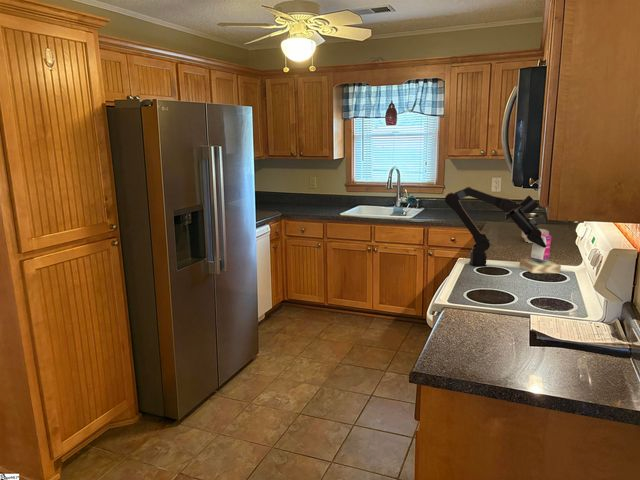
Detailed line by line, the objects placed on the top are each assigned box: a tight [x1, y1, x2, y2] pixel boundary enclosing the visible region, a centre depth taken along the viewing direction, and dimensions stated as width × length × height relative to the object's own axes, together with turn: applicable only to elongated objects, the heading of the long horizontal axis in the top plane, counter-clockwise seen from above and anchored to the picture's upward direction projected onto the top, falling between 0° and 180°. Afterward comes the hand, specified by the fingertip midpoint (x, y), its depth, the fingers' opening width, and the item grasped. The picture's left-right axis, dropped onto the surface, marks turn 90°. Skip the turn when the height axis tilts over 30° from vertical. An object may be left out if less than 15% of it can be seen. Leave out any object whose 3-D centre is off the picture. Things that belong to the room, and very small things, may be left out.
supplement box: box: [530, 234, 552, 261], centre depth 224 cm, size 6×6×12 cm
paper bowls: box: [520, 228, 550, 244], centre depth 293 cm, size 15×15×8 cm
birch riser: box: [519, 258, 562, 274], centre depth 226 cm, size 13×13×4 cm
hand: (544, 245), depth 223 cm, fingers closed on supplement box, 8 cm apart
